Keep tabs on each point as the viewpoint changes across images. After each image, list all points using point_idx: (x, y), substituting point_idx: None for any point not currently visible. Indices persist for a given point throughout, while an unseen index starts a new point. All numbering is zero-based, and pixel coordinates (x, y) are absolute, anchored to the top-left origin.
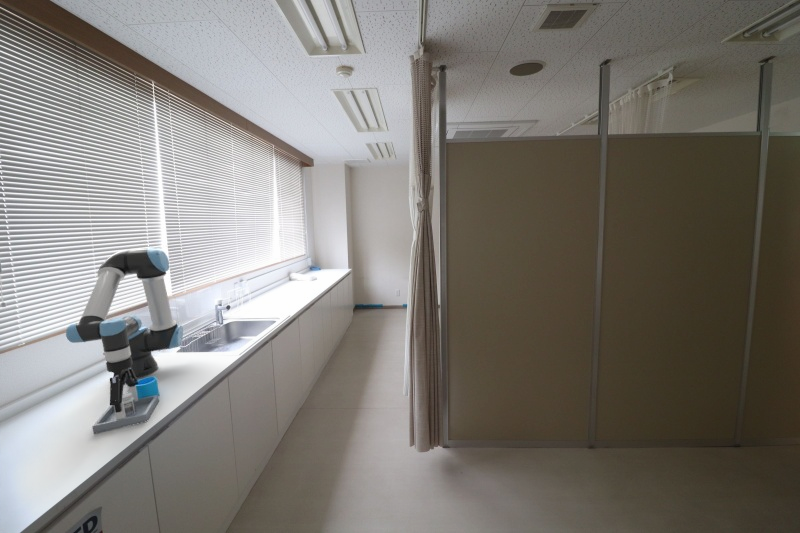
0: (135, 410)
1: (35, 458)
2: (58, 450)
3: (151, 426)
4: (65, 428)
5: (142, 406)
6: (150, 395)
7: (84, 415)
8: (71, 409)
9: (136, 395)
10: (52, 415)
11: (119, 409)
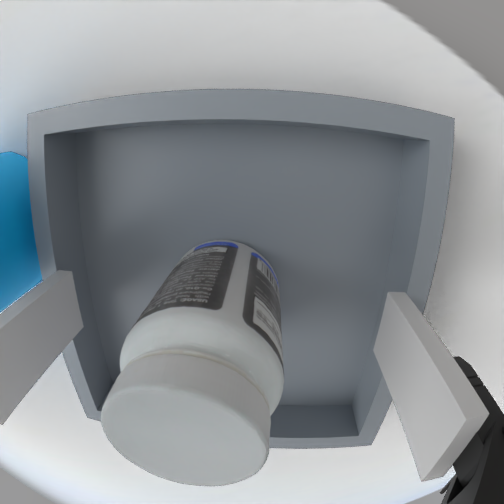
0: (228, 248)
1: (401, 484)
2: (405, 459)
3: (494, 91)
4: (211, 489)
5: (118, 217)
6: (11, 190)
7: (118, 458)
8: (67, 471)
9: (38, 299)
10: (97, 496)
11: (477, 379)
